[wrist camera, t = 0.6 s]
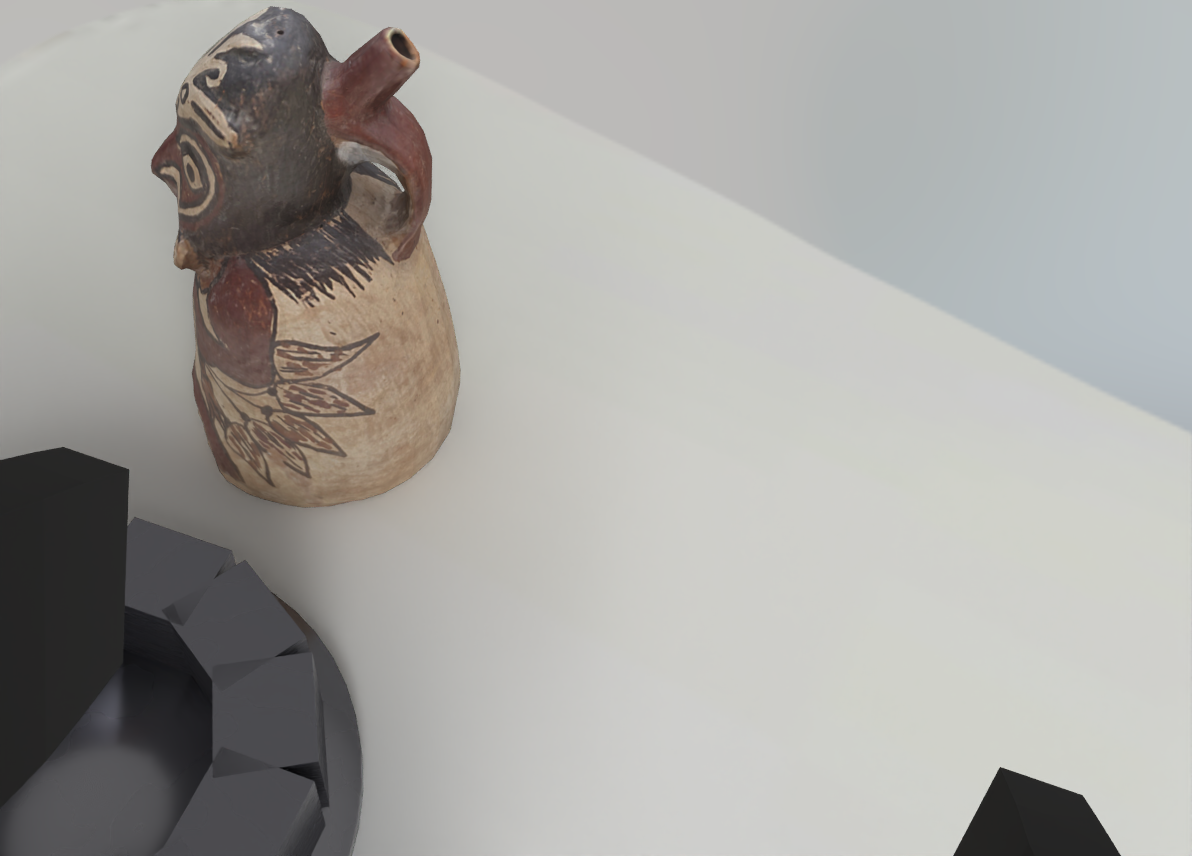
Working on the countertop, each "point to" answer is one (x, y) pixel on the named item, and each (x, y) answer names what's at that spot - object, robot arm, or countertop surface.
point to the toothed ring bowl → (201, 726)
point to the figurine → (310, 264)
